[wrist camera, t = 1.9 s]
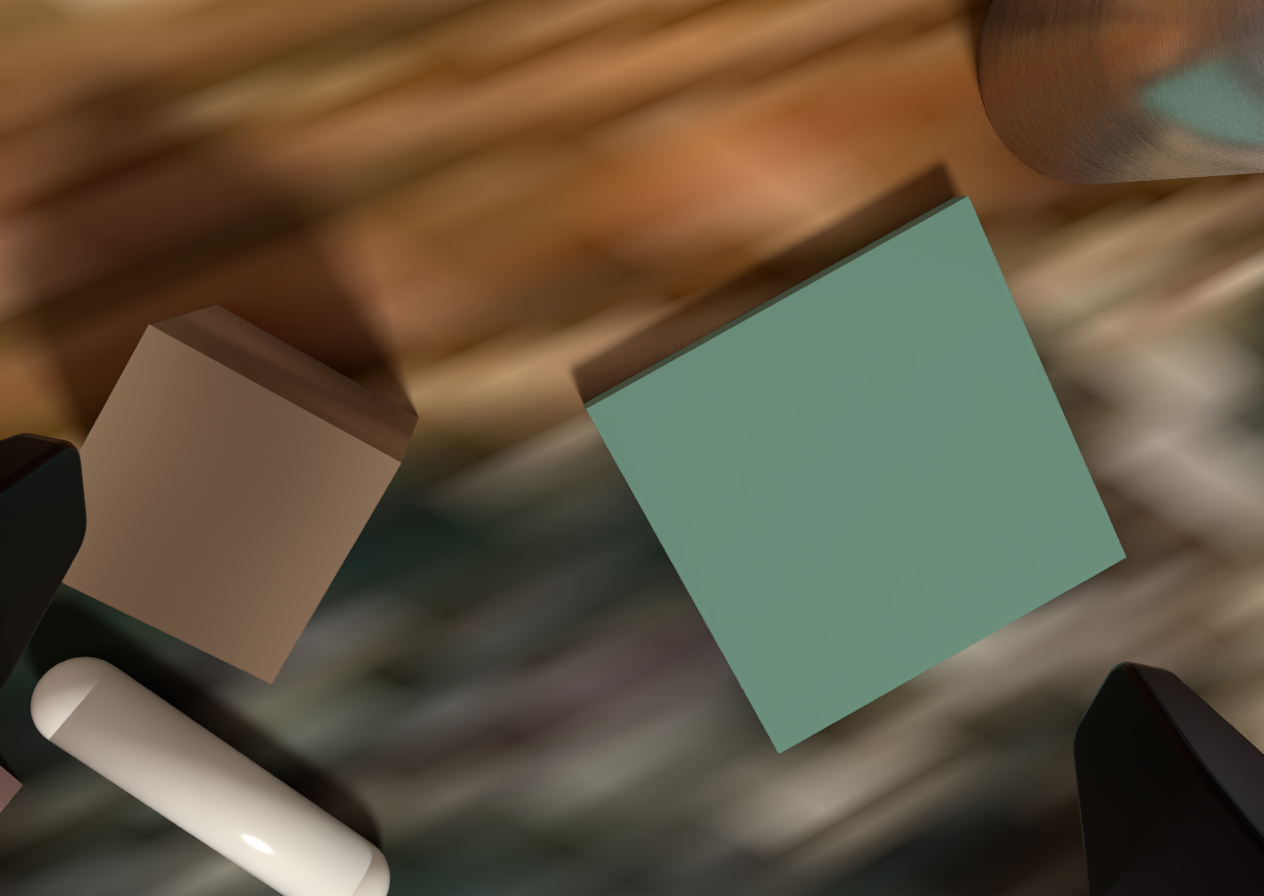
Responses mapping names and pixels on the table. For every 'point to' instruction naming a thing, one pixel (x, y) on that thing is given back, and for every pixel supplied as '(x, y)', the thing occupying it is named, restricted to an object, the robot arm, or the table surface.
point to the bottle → (1126, 87)
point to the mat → (861, 473)
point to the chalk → (202, 783)
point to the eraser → (7, 787)
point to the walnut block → (230, 486)
